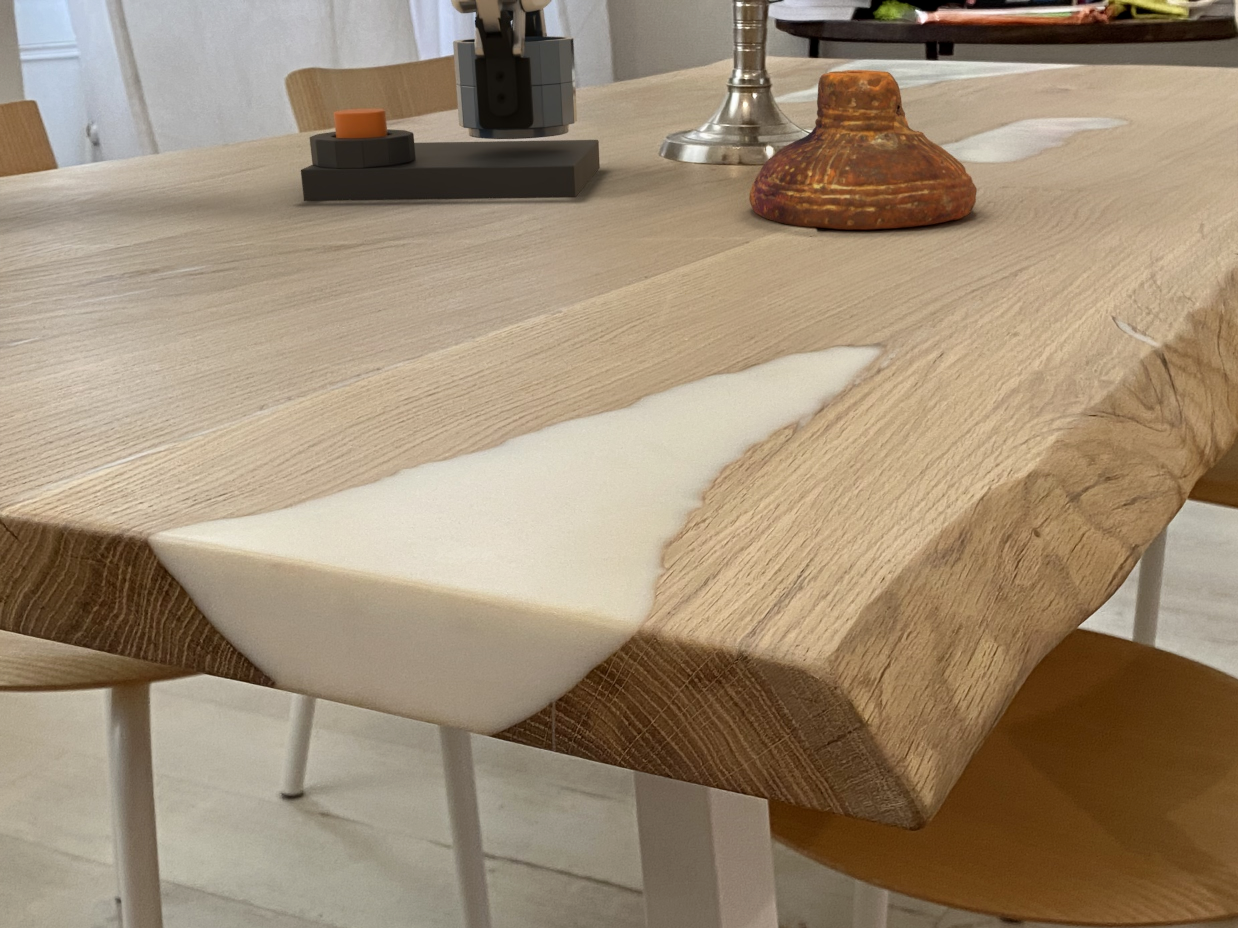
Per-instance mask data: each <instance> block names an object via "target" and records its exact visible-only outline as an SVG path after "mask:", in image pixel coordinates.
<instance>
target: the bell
mask: <svg viewBox="0 0 1238 928" xmlns="http://www.w3.org/2000/svg"><path fill="white" fill-rule="evenodd" d="M817 84H818V85H817V97H816V98H817V99H816V107H817V110H816V115H817V118H816V119H815V122H814V124H815V126H814V128H813V130H812V131H811V132H810V133H809V134H807V135H805V136H804V137H802V138H800V139H797V140H794V141H793V142H790V143H789V144H787V145H785V146H784V147H783V148H780V149H779V150H778V151H777V152H776V153H775V154H773V155H772V156H770V157H769V158H768V159H767V160H766V161H765V163H764V164H763V166H762V167H761V168H760V171H759V172H758V173H757V175H756V177H755V180H754V181H753V183H752V184H751V185H752V186H751V188H750V190H749V198H748V199H749V200H748V201H749V203H750V206H751V208H752V210H753V211H754V212H755V213H756V214H757V215H759V216H760V217H762V218H764V219H766V220H769V221H773V222H777V223H780V224H783V225H788V226H789V225H791V226H796V227H803V228H804V227H806V228H818V229H819V228H820V229H831V230H833V229H834V230H879V229H883V230H886V229H900V228H902V229H903V228H913V227H920V226H929V225H936V224H941V223H946V222H950V221H954V220H955V221H956V220H960V219H962V218H963V217H966V216H968V215H969V214H971V212H972V211H973V209H974V207H975V205H976V202H977V199H976V198H977V191H978V189H977V186H976V185H975V183H974V182H973V178H972V176H971V175H970V174H969V173H968V172H967V170H966V167H965V166H964V165H963V164H962V163H961V161H959V160H958V159H957V158H956V157H955V156H953V155H952V154H951V153H950V152H948V151H947V150H946V149H944V148H943V147H942V146H940V145H938V144H936V143H935V142H933V141H931V140H930V139H928V138H927V137H926V135H925V134H924V132H922V131H920V130H914V129H913V128H911V127H910V126H909V123H908V120H907V118H906V113H905V110H904V108H903V106H902V102H903V101H902V96H901V90H900V86H899V84H898V82H897V80H896V79H895V77H894V76H893V74H891V72H889V71H883V70H867V69H866V70H865V69H855V70H854V69H852V70H851V69H849V70H848V69H847V70H835V71H829V72H827V73H823V74H822V75H821V76H820V77H819V80H818V83H817Z"/></svg>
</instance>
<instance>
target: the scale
mask: <svg viewBox="0 0 1238 928" xmlns="http://www.w3.org/2000/svg"><path fill="white" fill-rule="evenodd" d="M414 135H415V134H414V132H412V131H409V130H405V129H389V128H387V136H381V137H369V138H336V131H330V132H323V133H316V134H314V135H312V136H309V146H310V154H311V163H312V164H310V165H308V166H306V167H304V168H301V169H300V176H301V177H300V178H301V184H302V185H301V186H302V195H303V202H331V201H333V202H335V201H337V202H338V201H402V200H403V201H407V200H408V201H409V200H410V201H411V200H416V201H417V200H477V199H479V200H481V199H483V200H484V199H485V200H486V199H488V200H489V199H544V198H545V199H547V198H548V199H550V198H551V199H552V198H553V199H554V198H558V199H559V198H562V199H563V198H576V197H577V196H578V195H579V193H581V191H582V190H583V189H584V188H585V186H586V185H587V184H588V183H589V182H590V180H591V179H592V178H593V177H594V176H595V175H596V173H597V172H598V170H600V168H601V167H600V166H601V165H600V141H599V139H565V140H564V139H562V140H561V139H560V140H559V139H557V140H555V139H554V140H552V139H551V140H501V141H500V140H498V141H439V142H437V141H436V142H435V141H434V142H415V136H414Z"/></svg>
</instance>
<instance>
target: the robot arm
mask: <svg viewBox="0 0 1238 928" xmlns="http://www.w3.org/2000/svg"><path fill="white" fill-rule="evenodd" d="M552 1H553V0H450V2H451V5H452V7H453V8H454V9H455V10H456V11H457V12H458V13H460V14H472V13H473V14H474V13H475V17H474V39H475V55H476V58H477V59H475V73H476V87H477V101H478V115H479V125H480V126H481V127H482V128H483V129H518V128H529V127H531V126H532V125H533V121H534V119H533V101H532V84H531V67H530V57H526V58H524V50H525V37H526V36H548V33H547V25H546V17H545V11H544V9H545V8H546V7H548V6H549V5H550V4H551V2H552Z"/></svg>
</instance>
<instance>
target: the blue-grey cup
mask: <svg viewBox="0 0 1238 928" xmlns="http://www.w3.org/2000/svg"><path fill="white" fill-rule="evenodd" d="M574 44H575V43H574V37H572V36H556V35H547V36H526V37H525V50H524V58H526V57H530V67H531V84H532V101H533V119H534V121H533V125H532V126H531V127H529V128H518V129H483V128H482V127H481V126H480V125H479V115H478V101H477V87H476V73H475V59H477V58H476V55H475V38H466V39H457V40H453V41H452V45H453V46H452V47H453V61H454V75H455V86H456V87H455V89H456V100H457V115H458V116H457V117H458V126H459V127H462V128H463V129H467V131H468V136H469V137H472V138H477V139H488V140H489V139H490V140H524V139H525V140H526V139H541V138H550V137H557V136H562V135H566V134H568V133H569V132H570V126H569V125H573V124H575V123H577V122H578V112H577V90H576V89H577V88H576V87H577V86H576V69H575V68H576V67H575V65H576V64H575V47H574V46H575V45H574Z"/></svg>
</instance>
